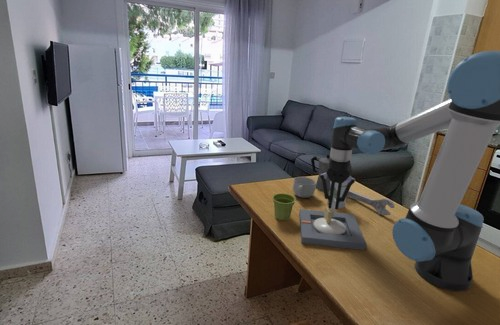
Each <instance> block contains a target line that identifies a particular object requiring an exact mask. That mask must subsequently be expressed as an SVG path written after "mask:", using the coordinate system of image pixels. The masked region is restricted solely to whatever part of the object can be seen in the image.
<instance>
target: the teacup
mask: <svg viewBox="0 0 500 325" xmlns="http://www.w3.org/2000/svg"><path fill="white" fill-rule="evenodd" d="M316 183H317V180H315V179H313V178H310V177H307V176H297V177H294V178H293V184H292V191H293V193H294V194H295V196H296V197H299V198H302V199H308V198H310V197H312V196H313V195H314V194H315V191H316Z"/></svg>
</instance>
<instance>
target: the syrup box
mask: <svg viewBox="0 0 500 325" xmlns="http://www.w3.org/2000/svg"><path fill="white" fill-rule="evenodd" d="M331 182H332V181H330V188H329V191H328V195H329V196H330V190H331ZM347 184H348V179H347V180H345V181H344V182H343V183H342V186H341V193H340V197H342V195H343V193H344V190H345V188H346V186H347ZM337 190H338V183H335V186H334V193H333V199H335V200H336V197H337ZM346 200H347V197H346V198H345V200H344V202H342V201H341V202H339V206H338V210H339V209H344V208H346V207H345V206H346V202H347V201H346ZM327 205H329V200H328V199H327Z"/></svg>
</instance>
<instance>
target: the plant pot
mask: <svg viewBox="0 0 500 325" xmlns="http://www.w3.org/2000/svg"><path fill="white" fill-rule="evenodd" d="M272 200H273V206H274V218H275V219H277V220H279V221H288V220H290V217H291V215H292V211H293V210H292V209H293V206H294V205H295V202H296V201H297V200H296V197H295V196H293V195H292V194H289V193H282V192H281V193H280V192H279V193H275V194H274V195H273V196H272Z"/></svg>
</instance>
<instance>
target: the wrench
mask: <svg viewBox="0 0 500 325" xmlns="http://www.w3.org/2000/svg"><path fill="white" fill-rule="evenodd" d="M347 197H348V198H350V199H353V200H356V201H359V202H360V203H363V204H366V205H369V206H371V207H372V208H374V210H375V211H376V213H377V215H379V216H380V215H383V216H390V215H391V214H392V213H391V212H390V211H389V210H387V209H386V206H388V207H389V208H391V209H394V208H395V204H394V202H393V200H391V199H389V198H382V199H374V198H371V197H368V196H367V195H363V194H360V193H359V192H358V193H357V192H355V191H352V190H350V189H349V192H348V194H347V196H346V198H347Z"/></svg>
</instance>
